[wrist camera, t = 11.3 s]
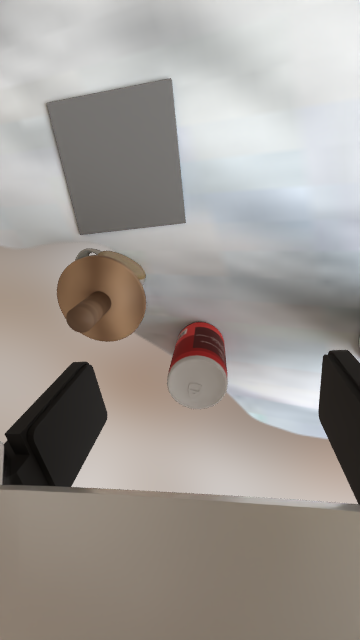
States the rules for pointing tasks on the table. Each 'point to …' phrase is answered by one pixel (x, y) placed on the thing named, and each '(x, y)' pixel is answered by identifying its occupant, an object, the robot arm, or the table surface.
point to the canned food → (198, 367)
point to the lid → (101, 298)
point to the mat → (121, 157)
